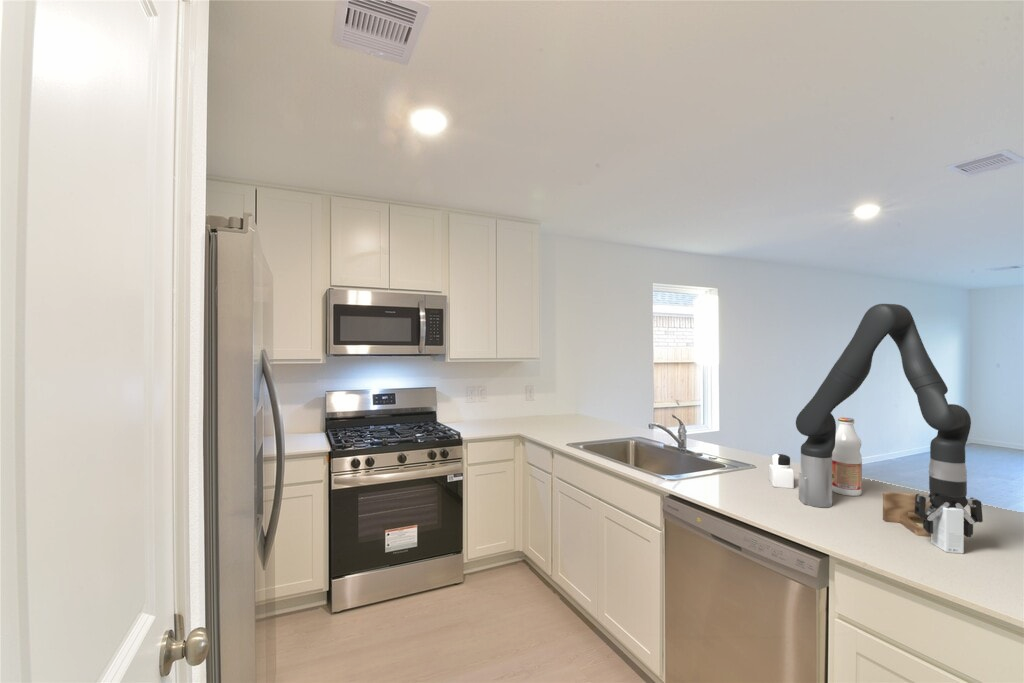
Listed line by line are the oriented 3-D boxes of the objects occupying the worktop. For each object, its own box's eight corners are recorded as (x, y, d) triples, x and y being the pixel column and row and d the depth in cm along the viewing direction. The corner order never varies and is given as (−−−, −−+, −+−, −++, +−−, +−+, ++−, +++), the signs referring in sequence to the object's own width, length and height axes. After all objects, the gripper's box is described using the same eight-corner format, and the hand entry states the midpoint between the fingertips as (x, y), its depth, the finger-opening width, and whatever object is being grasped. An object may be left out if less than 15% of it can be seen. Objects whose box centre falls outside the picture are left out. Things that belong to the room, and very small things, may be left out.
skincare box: (964, 554, 121) (964, 510, 121) (946, 552, 122) (946, 509, 122) (947, 543, 127) (947, 502, 127) (930, 542, 128) (930, 501, 128)
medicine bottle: (789, 483, 180) (789, 453, 180) (793, 489, 173) (793, 458, 173) (769, 481, 182) (769, 452, 182) (773, 487, 175) (773, 456, 175)
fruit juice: (847, 497, 163) (847, 421, 163) (824, 489, 173) (824, 416, 172) (868, 495, 165) (868, 420, 165) (844, 486, 175) (844, 415, 174)
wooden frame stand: (901, 534, 134) (902, 504, 134) (882, 519, 144) (882, 491, 144) (976, 540, 129) (976, 509, 129) (951, 525, 139) (951, 496, 139)
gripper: (925, 478, 123) (925, 537, 123) (989, 482, 119) (989, 543, 119) (908, 470, 130) (909, 526, 130) (969, 474, 126) (969, 531, 126)
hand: (947, 534), depth 125 cm, fingers open, 8 cm apart
